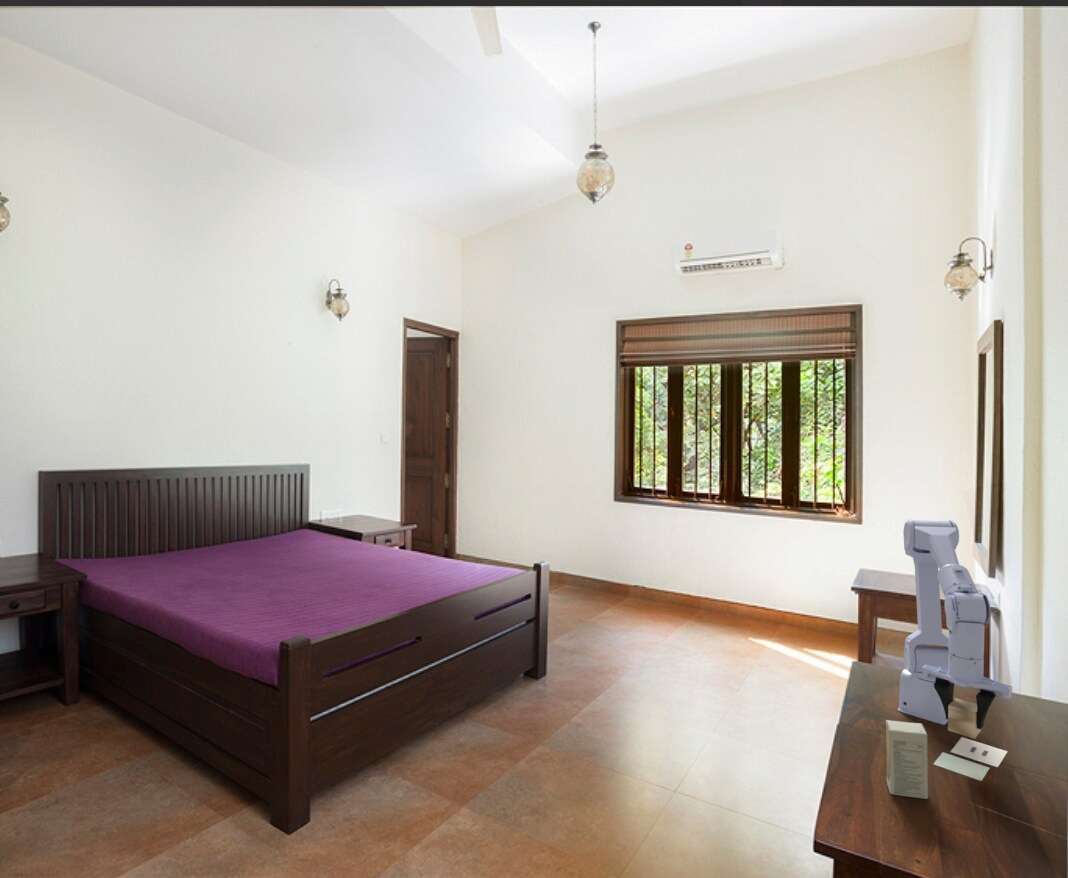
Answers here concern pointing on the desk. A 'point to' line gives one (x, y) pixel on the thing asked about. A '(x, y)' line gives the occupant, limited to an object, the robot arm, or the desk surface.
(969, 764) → the sage coaster
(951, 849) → the desk surface
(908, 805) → the desk surface
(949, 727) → the maple block
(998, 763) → the tile
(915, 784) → the skincare box
